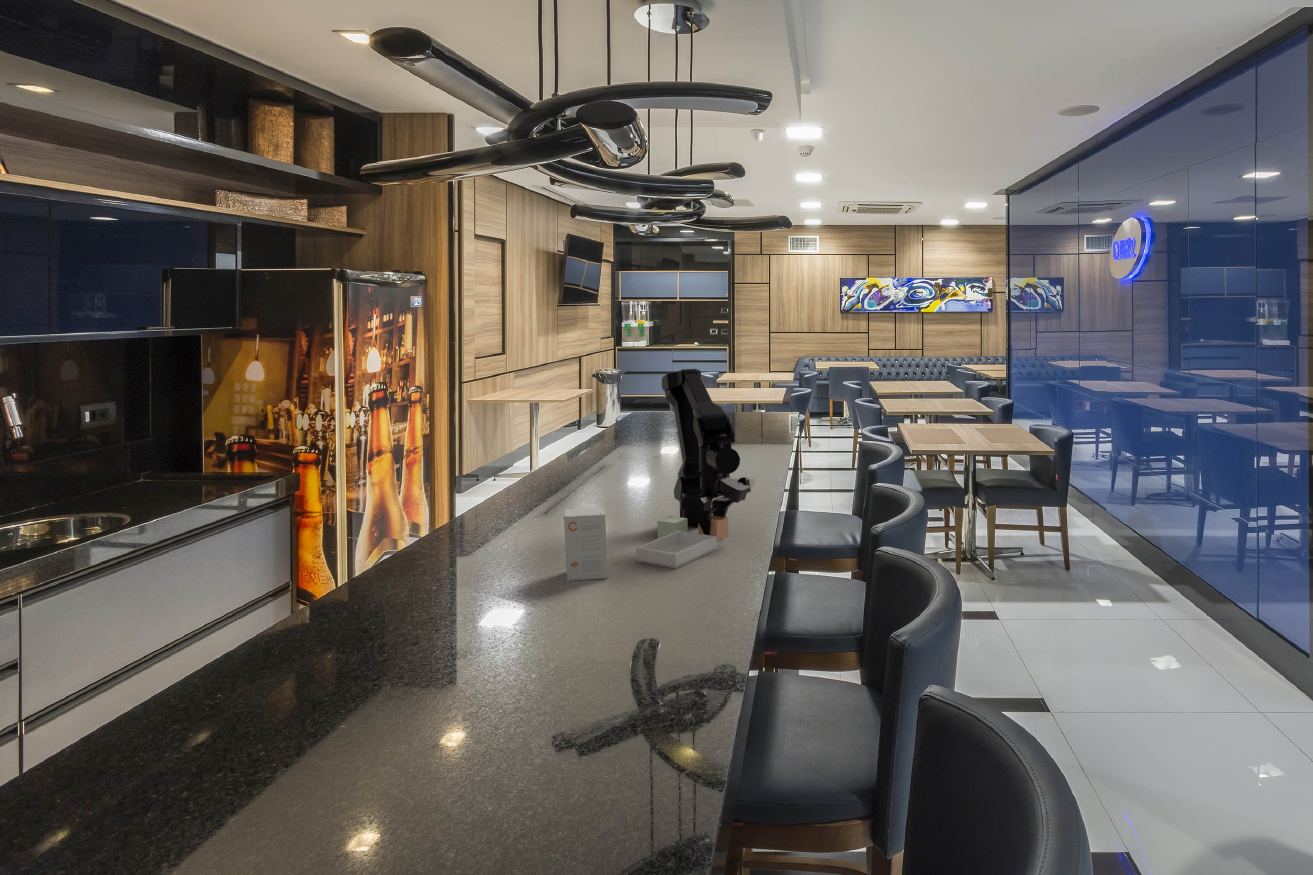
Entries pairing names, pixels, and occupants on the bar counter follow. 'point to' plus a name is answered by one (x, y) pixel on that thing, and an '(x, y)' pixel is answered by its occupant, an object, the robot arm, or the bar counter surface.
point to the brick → (717, 527)
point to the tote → (676, 549)
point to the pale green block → (671, 525)
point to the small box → (585, 544)
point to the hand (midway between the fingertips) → (713, 533)
